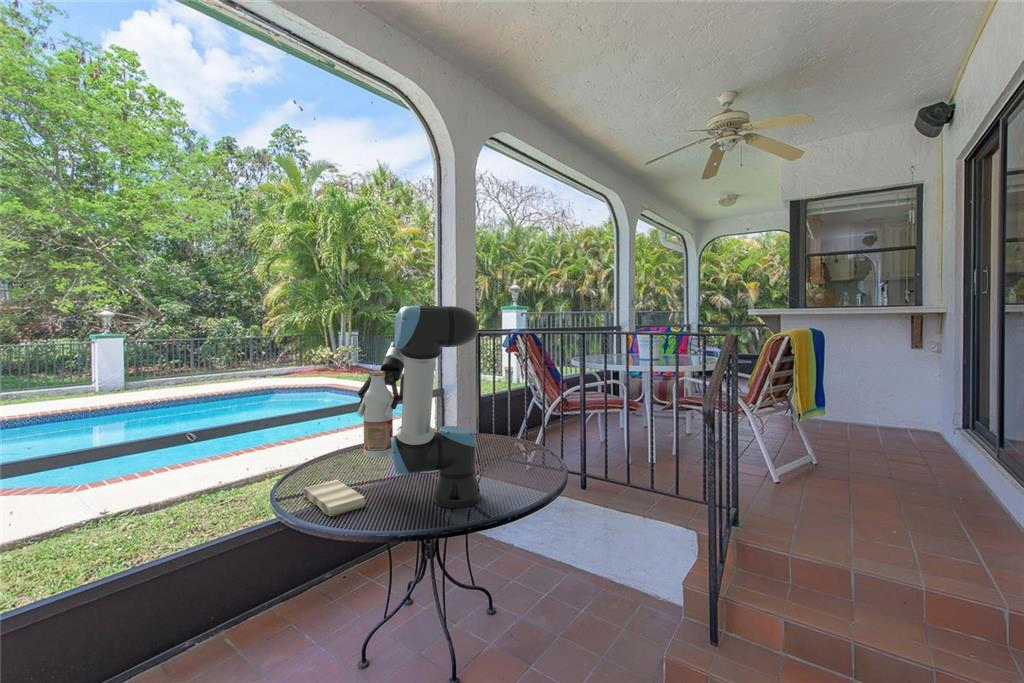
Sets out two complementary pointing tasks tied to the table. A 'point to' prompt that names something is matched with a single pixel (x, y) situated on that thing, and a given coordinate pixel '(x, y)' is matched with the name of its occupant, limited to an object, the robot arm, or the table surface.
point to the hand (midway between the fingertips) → (373, 415)
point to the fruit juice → (377, 418)
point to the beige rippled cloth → (334, 497)
